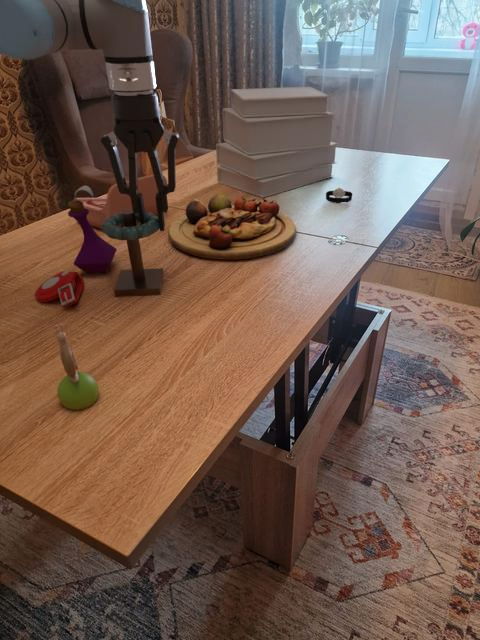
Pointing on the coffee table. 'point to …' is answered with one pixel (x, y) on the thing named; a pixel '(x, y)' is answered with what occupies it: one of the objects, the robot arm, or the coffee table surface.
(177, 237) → the wooden plate
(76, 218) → the perfume bottle
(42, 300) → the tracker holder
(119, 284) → the rack
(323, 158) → the book stack
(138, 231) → the ring
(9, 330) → the coffee table surface
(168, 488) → the coffee table surface
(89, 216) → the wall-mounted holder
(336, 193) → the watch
